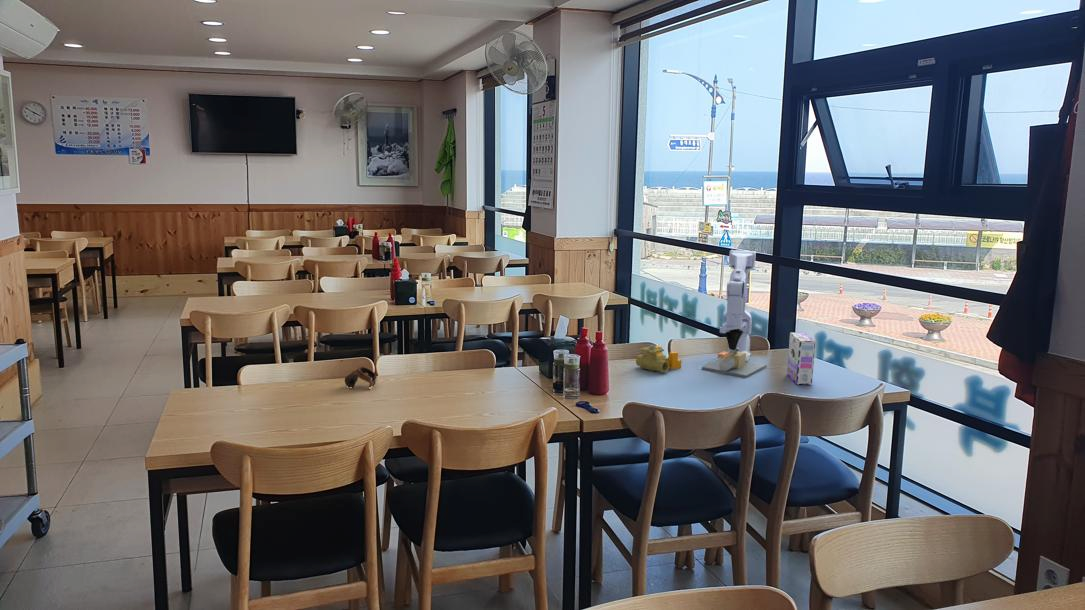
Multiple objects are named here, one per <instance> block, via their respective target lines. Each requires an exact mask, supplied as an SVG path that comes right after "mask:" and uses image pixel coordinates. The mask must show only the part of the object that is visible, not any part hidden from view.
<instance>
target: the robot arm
mask: <svg viewBox="0 0 1085 610" xmlns="http://www.w3.org/2000/svg"><path fill="white" fill-rule="evenodd" d="M756 254H757V252H756V251H755V250H740V249H735V250H734V249H731V250H729V254H728V255H729V257H728V264H729V267H730V269H732V271H731V273H730V276H729V281H728V282H727V284H726V302H727V304H726V318H725V323H723V326H720V327H719V333H720V334H724V335H725V337H726V341H727V345H728V347H727V351H728V350H730V349H731V350H735V349H736V347H737V348H739V351H738V352H742V351H747V352H748V353H749V354H750V356H752V353H751V352H750V350H751V349H750V347H751V337H750V336H749V335H751V334H752V323H753V322H752V321H753V320H752V315H751V313H749V312H748V311H747V310H746V307H747V306H746V305H747V304H746V302H747V292H748V291H747V289H748V285H747V284H748V276H749V275H748V274H749V272H750V271H754V270H755V267H756Z"/></svg>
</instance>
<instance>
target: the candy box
mask: <svg viewBox="0 0 1085 610" xmlns="http://www.w3.org/2000/svg"><path fill="white" fill-rule="evenodd" d="M788 340H789V342H788V357H787V371H786V375H787V376H788V377H789V378H790V379H791V381H793V382H794V383H795V385H799V384H802V386H805V385H806V386H812V385H813V375H814V363H815V354H816V353H815V352H816V350H815V349H816V343H817V342H816V340H814V339H813V338H812V337H810V336H809V335H808V334H807V333H805V332H789V339H788Z"/></svg>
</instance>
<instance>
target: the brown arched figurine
mask: <svg viewBox="0 0 1085 610" xmlns="http://www.w3.org/2000/svg"><path fill="white" fill-rule="evenodd" d="M367 374H368V375H367ZM359 379H360V380H362V381H365V382H367V383H368V384H369V385H368V387H371V386H373V387H374V385H376V384H377V383H376V379H377V374H376V373H375V372H373V370H371V369H369V368H368V367H365V366H358V368H356V369H354V370H353V371H351V373H350V374H348V375H346V377H345V378H344V383H345V386H348V387H352V388H353V387H354V388H355V385H356V384H357V382H358V380H359Z"/></svg>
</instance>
